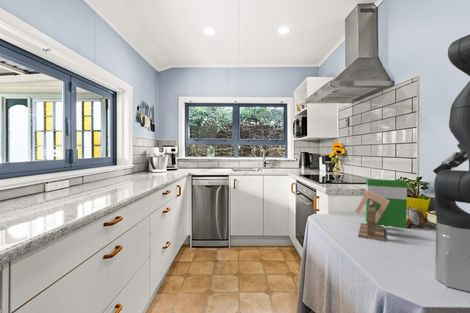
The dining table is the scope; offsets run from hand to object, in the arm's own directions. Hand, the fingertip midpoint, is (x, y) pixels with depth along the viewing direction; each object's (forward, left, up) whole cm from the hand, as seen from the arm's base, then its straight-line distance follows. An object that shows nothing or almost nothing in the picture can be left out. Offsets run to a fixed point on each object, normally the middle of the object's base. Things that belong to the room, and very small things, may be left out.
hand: (437, 173), depth 90 cm
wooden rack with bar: (+14, +21, -31) cm, 40 cm away
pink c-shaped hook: (+14, +24, -24) cm, 36 cm away
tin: (+44, +1, -31) cm, 54 cm away
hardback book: (+34, +15, -31) cm, 48 cm away
